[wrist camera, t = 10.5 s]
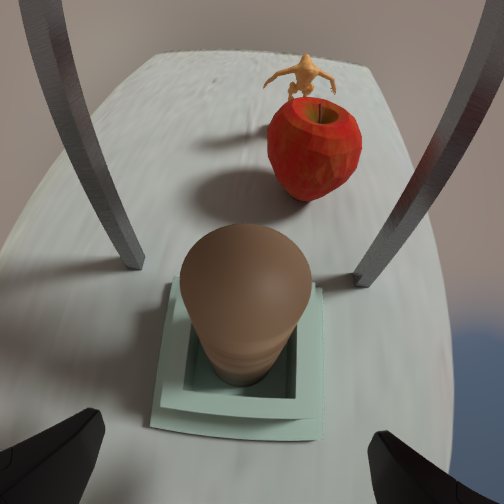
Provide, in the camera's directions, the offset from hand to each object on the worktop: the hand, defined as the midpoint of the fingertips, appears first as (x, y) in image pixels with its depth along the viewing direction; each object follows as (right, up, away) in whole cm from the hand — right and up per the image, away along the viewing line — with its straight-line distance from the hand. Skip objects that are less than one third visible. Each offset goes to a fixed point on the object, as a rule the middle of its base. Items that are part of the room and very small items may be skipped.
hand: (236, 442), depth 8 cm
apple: (+6, +12, +23) cm, 26 cm away
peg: (0, -2, +13) cm, 13 cm away
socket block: (0, -2, +14) cm, 14 cm away
